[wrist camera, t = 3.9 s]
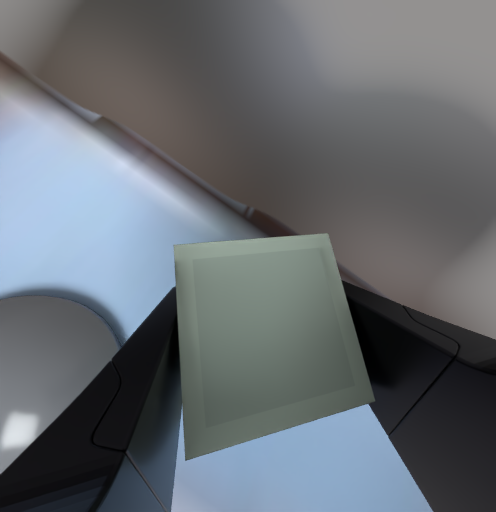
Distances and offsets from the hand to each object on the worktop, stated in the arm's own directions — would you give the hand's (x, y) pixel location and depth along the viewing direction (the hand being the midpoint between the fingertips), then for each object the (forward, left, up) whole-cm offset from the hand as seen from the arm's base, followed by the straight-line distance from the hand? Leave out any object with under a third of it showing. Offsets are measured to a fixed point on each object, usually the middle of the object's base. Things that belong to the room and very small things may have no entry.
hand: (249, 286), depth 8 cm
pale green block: (-1, +1, -7) cm, 7 cm away
